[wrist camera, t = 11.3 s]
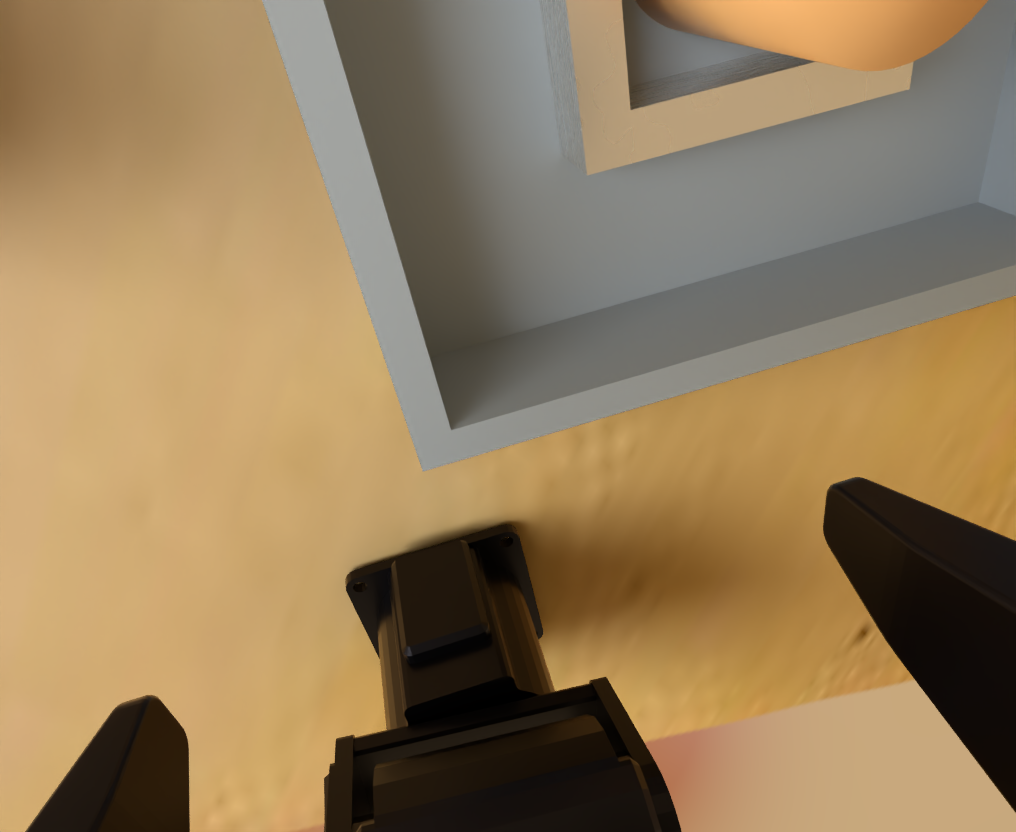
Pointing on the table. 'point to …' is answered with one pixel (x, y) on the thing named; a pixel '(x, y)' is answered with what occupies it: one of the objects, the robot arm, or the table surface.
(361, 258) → the inlet box
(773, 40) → the peach capsule shape
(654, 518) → the table surface
